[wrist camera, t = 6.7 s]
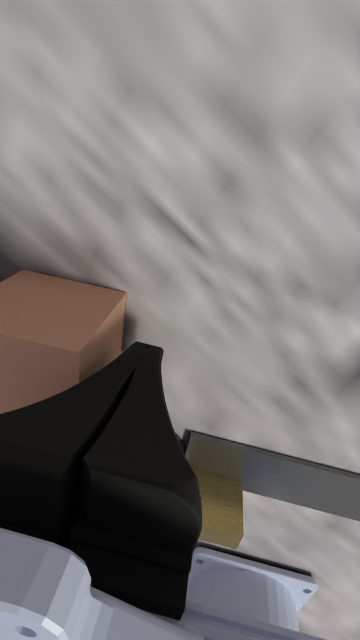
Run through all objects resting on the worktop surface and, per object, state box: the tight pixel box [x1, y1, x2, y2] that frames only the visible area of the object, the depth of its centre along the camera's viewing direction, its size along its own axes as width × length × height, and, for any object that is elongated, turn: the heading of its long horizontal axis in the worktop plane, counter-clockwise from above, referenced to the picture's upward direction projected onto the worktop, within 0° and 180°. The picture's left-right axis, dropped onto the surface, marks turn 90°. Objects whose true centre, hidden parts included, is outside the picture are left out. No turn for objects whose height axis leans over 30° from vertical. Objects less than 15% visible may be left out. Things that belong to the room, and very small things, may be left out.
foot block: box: [0, 270, 127, 414], centre depth 12 cm, size 4×4×4 cm
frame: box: [176, 432, 360, 549], centre depth 15 cm, size 4×19×4 cm, turn 79°
